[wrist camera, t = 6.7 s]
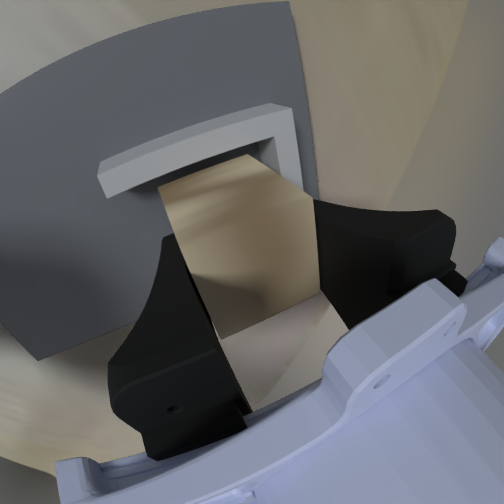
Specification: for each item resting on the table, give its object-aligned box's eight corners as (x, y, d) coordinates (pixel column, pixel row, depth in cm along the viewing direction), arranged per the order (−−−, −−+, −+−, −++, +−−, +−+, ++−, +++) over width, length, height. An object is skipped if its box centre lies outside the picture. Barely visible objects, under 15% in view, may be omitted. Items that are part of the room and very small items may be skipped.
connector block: (187, 262, 14) (220, 339, 10) (157, 187, 12) (181, 251, 8) (264, 230, 15) (320, 292, 11) (247, 153, 12) (312, 197, 9)
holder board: (38, 349, 16) (35, 385, 13) (-82, 166, 7) (-111, 188, 5) (313, 232, 20) (340, 257, 17) (278, 4, 11) (312, -6, 9)
